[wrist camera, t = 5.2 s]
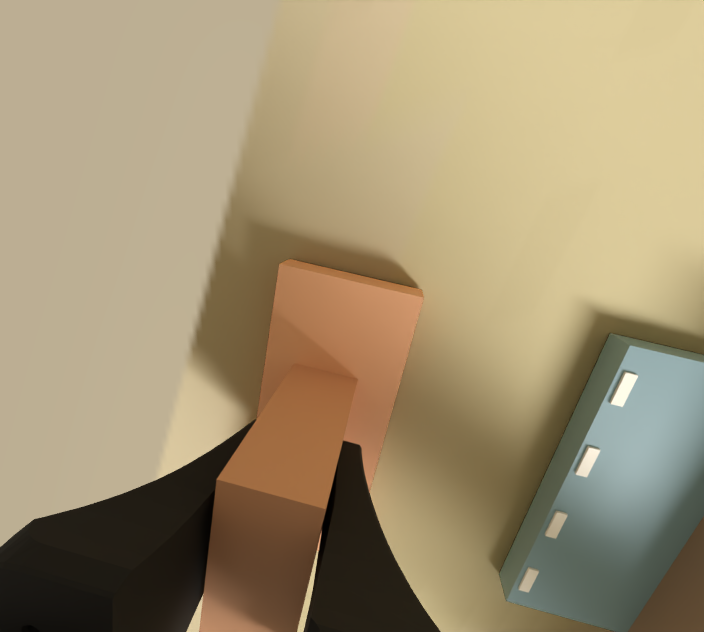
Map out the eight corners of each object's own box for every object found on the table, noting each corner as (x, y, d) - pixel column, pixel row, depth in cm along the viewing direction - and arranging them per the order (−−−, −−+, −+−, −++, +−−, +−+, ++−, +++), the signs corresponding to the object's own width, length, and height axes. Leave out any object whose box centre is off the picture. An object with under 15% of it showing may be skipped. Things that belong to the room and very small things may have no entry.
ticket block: (856, 375, 12) (1004, 431, 9) (673, 631, 16) (735, 728, 13) (616, 320, 13) (682, 356, 10) (495, 581, 17) (516, 664, 14)
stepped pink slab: (421, 289, 13) (443, 379, 7) (353, 535, 17) (322, 757, 10) (289, 259, 14) (177, 314, 7) (250, 507, 17) (153, 704, 11)
